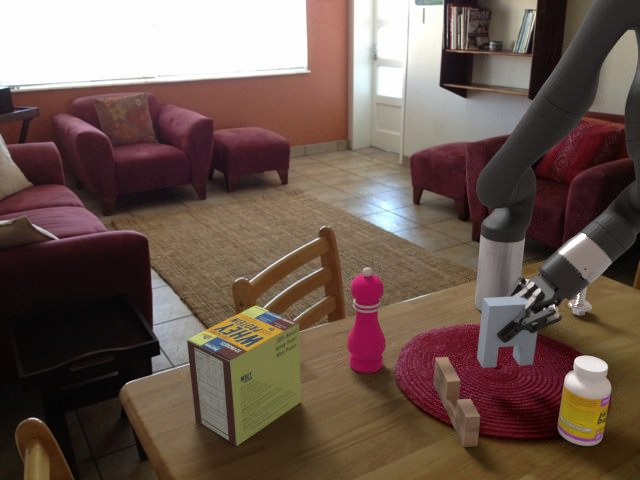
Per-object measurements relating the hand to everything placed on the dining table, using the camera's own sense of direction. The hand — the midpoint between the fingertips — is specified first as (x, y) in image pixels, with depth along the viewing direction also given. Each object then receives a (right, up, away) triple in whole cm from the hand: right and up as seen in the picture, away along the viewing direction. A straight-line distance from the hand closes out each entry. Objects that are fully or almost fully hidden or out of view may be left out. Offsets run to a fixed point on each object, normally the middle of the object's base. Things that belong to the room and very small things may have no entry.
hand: (496, 333), depth 105 cm
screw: (+27, 0, +29) cm, 40 cm away
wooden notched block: (-8, -13, -3) cm, 15 cm away
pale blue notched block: (+2, -5, +2) cm, 6 cm away
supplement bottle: (+11, -15, -9) cm, 20 cm away
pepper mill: (-22, -8, +11) cm, 26 cm away
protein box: (-42, -13, -2) cm, 44 cm away
